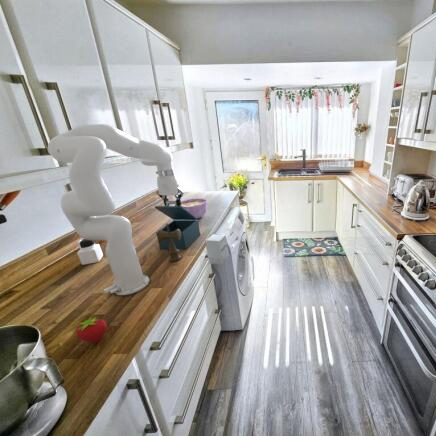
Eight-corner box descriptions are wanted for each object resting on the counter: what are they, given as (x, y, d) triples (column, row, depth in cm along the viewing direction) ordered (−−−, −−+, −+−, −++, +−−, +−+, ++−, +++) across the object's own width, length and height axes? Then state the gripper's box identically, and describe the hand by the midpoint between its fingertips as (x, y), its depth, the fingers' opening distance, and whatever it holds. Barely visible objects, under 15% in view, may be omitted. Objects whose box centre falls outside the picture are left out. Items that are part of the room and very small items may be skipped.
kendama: (168, 257, 122) (158, 221, 115) (187, 255, 123) (179, 220, 116) (163, 263, 117) (153, 226, 110) (183, 262, 117) (174, 224, 110)
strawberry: (108, 346, 73) (97, 321, 69) (78, 353, 71) (66, 328, 67) (115, 331, 78) (105, 307, 74) (87, 337, 76) (76, 313, 72)
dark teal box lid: (181, 207, 125) (183, 198, 127) (154, 207, 126) (156, 199, 128) (197, 219, 143) (198, 212, 144) (173, 219, 144) (175, 212, 146)
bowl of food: (177, 217, 177) (173, 202, 173) (203, 210, 189) (200, 196, 185) (186, 224, 163) (183, 208, 159) (214, 217, 175) (211, 202, 171)
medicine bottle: (103, 255, 126) (96, 235, 122) (99, 262, 120) (90, 240, 116) (87, 258, 124) (79, 237, 120) (81, 265, 118) (72, 243, 113)
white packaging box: (222, 265, 114) (219, 241, 109) (208, 263, 115) (204, 240, 110) (229, 257, 120) (226, 234, 116) (216, 256, 122) (212, 233, 117)
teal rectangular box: (186, 249, 130) (182, 232, 126) (160, 248, 131) (155, 232, 128) (200, 234, 147) (197, 219, 143) (177, 234, 148) (173, 219, 144)
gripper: (146, 174, 122) (154, 208, 128) (178, 174, 120) (185, 208, 127) (154, 172, 129) (162, 204, 135) (185, 171, 127) (191, 204, 134)
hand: (173, 205), depth 131 cm, fingers closed on dark teal box lid, 6 cm apart
